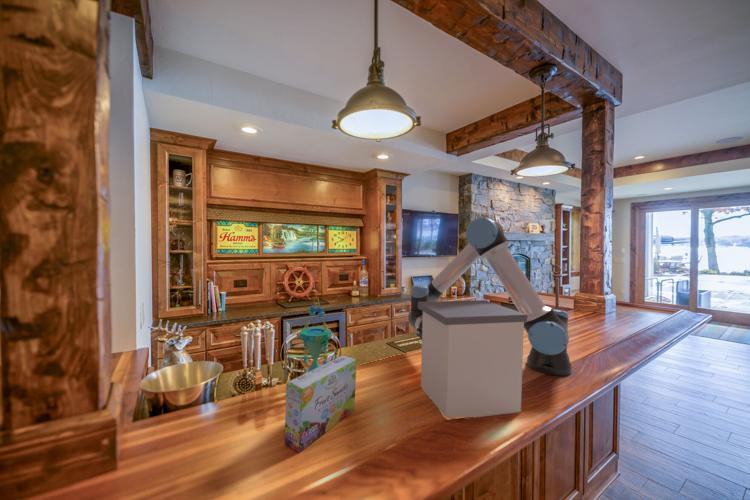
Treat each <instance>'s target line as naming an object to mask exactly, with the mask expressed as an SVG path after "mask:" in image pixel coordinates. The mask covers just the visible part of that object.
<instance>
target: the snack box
mask: <svg viewBox="0 0 750 500" xmlns="http://www.w3.org/2000/svg"><path fill="white" fill-rule="evenodd" d="M357 362H358V361H357V358H354V357H349V356H346V355H341V356H338V357H336V358H334V359H332V360H330V361H328V363H326V364H324V365H323V364H322V365H320V367H318V368H316V369H314V370H312V371H309V372H308V371H307V373H305V374H303V373H302V374H301V375H299V376H297V377H296V378H293V379H291V380H289V381H287V382H286V386H285V390H286V391H285V414H284V415H285V416H284V417H285V419H284V421H285V422H284V423H285V424H284V445H286V446H287V447H289V448H290V449H292V450H294V451H295V452H297V453H299V454H300V453H301V452H302V451H304V450H305V449H306V448H308V447H309V446H310V445H312V443H314V442H315V441H316V440H318V439H319V438H320V437H322V436H323V435H324V434H325V433H327V432H328V431H330V430H331V429H332V428H333V427H335V426H337V425H338V424H339V423H340V422H342V421H343V420H344V419H345V418H347V417H348V416H349V415H350V414H352V413H354V411H355V409H356V407H355V406H356V382H357V381H356V380H357V378H356V377H357Z"/></svg>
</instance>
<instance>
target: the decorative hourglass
mask: <svg viewBox="0 0 750 500" xmlns="http://www.w3.org/2000/svg"><path fill="white" fill-rule="evenodd" d="M315 299H317V302H315ZM313 303H314V304H313V305H311V306H309V310H308V314H309V318H308V319H307V320H306V322H305V324H304V327H303V329H300V331H299V339H300V340H301V341H303V342H302V344H303V346H302V348H303V349H304V350H302V352H303V355H304V356H302V359H303V360H302V363H303V364H305V365H304V367H303V373H302V375H303V374H305V373H307V372H309V371H312V370H314V369H316V368H318V367H320V366H321V365H320V363H319V362H318V359H319V357H320V355H321V353H322V352H323V353H324V354H322V355H321V356H322V357H323V359H322V360H323V361H322V362H321V363H322V365H324V364H326V363H328V362H329V361H328V357H329V355H327V353H328V352H329V349H328V348H329V345H328V344H329V341H328V340H330V339H331V338H332V333H333V332H332V330H331V329H330V328H328V324H327V323H326V322H325V321H324V315H325V311H324V307H323V306H320V305H321V304H320V301H319V297H317V296H315V297H314V298H313ZM316 312H317V317H321V318H322V321H323V324H322V326H312V327H309V325H310V323H311V322H310V319H311V316H313V315H316ZM308 353H309V354H308ZM309 355H310V356H311V358H312V363H311V364H310V366H309V367H307V366H306V365H307V364H308V363H309V360H308V359H309Z"/></svg>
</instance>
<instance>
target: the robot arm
mask: <svg viewBox="0 0 750 500" xmlns="http://www.w3.org/2000/svg"><path fill="white" fill-rule="evenodd" d="M465 229H466V230H465V239H466V241H467V242H468V244H467V245H465V247H464V248H462V250H461V251H460V252H459V253H458V254H457V255H456V256H455V257H454V258H453V259H452V260H451V261H450V262H449V263H448V264H447V266H445V267H444V268H443V269H442V271H440V273H438V274H437V276H435V278H434V279H432V280H431V282H430V283H428V285H426V284H413V285H412V286H411V287H410V288H411V289H410V312H409V313H408V314H407V322H408V323H409V324H410V325H411V326H410V327H413V329H416V336H418V337H419V339H420V341H421V342H422V321H423V311H422V310H421V309H419V308H418V302H434V301H439V299H440V298H441V297H442V295H443V293H445V292H446V291H447V290H448V289H449V288H450V287H451V286H452V285H453V284H454V283H456V281H457V280H458V279H459V278H460V277H462V275H464V273H466V272H467V270H468V269H469V268H471V267H472V266H473V265H474V264H475V262H477V261H478V260H479V259H480V258H482V259H484V260H485V259H486V260H487V263H488V264H489V266H490V267H491V269H492V270H493V273H494V274H495V276H496V277H497V279H498V280H499V282H500V283H501V285H502V286H503V288H504V289H505V291H506V293H507V295H508V296H509V297H510V299H511V301H512V303H513V304H514V306H515V307H516V309H517V310H518V312H521V313H524V314H527V322H524V331H526V332H525V333H526V334H527V338H528V341H529V343H530V346H531V349H530V350H529V353H528V355H527V358H526V365H527V366H528V367H529V368H531V369H533V370H535V371H537V372H539V373H543V374H546V373H548V374H547V375H551V374H553V375H552V376H568V375H569V376H570V375H571V374H572V371H573V369H572V367H573V365H572V364H571V362H570V361H571V360H570V357H569V354H568V349H567V348H568V344H569V339H570V337H569V330H568V329H569V328H568V326H569V314H568V312H567V311H566V310H561V309H556V308H553V307H551V306H547V305H546V304H545V303H544V302H543V300H542V299H541V297H540V295H539V294H538V293H537V291H536V290H535V288H534V286H533V285H532V284H531V282H530V280H529V279H528V277H527V276H526V274H525V273H524V271H523V269H522V268H521V267H520V265H519V264H518V262H517V260H516V258H515V257H514V256H513V254H512V252H511V251H510V250H509V248H508V245H509V244H510V243H509V241H508V238H507V237H506V236H505V234H504V228H503V226H502V225H501V224H500V223H499V222H498V221H496V220H495V219H491V218H490V217H485V216H482V217H478V218H474V219H473V220H472V221H470V222H469V223H468V225H467V227H466V228H465Z"/></svg>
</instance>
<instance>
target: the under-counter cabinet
mask: <svg viewBox="0 0 750 500" xmlns="http://www.w3.org/2000/svg"><path fill="white" fill-rule="evenodd" d="M418 308H419V309H421V310H422V311H423V321H422V341H421V365H420V369H421V370H420V372H421V373H420V388H421V389H422V390H423V392H424V393H425V395H426V396H427V395H428V396H429V397H428V396H427V397H428V398H429V400H430V399H431V400H432V401H433V402H434V403H435V405H436V406H437V407H438V409H439V410H440V411H441V412H442V413H443V415H444V416H445V417H446V418H453V417H473V418H482V417H490V416H498V415H499V416H501V415H506V414H508V415H509V414H516V413H517V414H518V413H521V412H522V389H523V388H522V387H523V363H524V362H523V358H524V332H525V329H524V322H527V314H524V313H521V312H519V311H517V310H514V309H512V308H509V307H506V306H504V305H503V306H502V305H499V304H497V303H494V302H491V301H488V300H486V299H485V300H483V299H482V300H449V301H448V300H444V301H443V300H442V301H441V300H440V301H439V300H437V301H434V302H418ZM431 400H430V401H431ZM432 401H431V402H432ZM433 402H432V403H433ZM435 405H434V406H435ZM436 406H435V407H436ZM438 409H437V410H438ZM439 410H438V411H439Z"/></svg>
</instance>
